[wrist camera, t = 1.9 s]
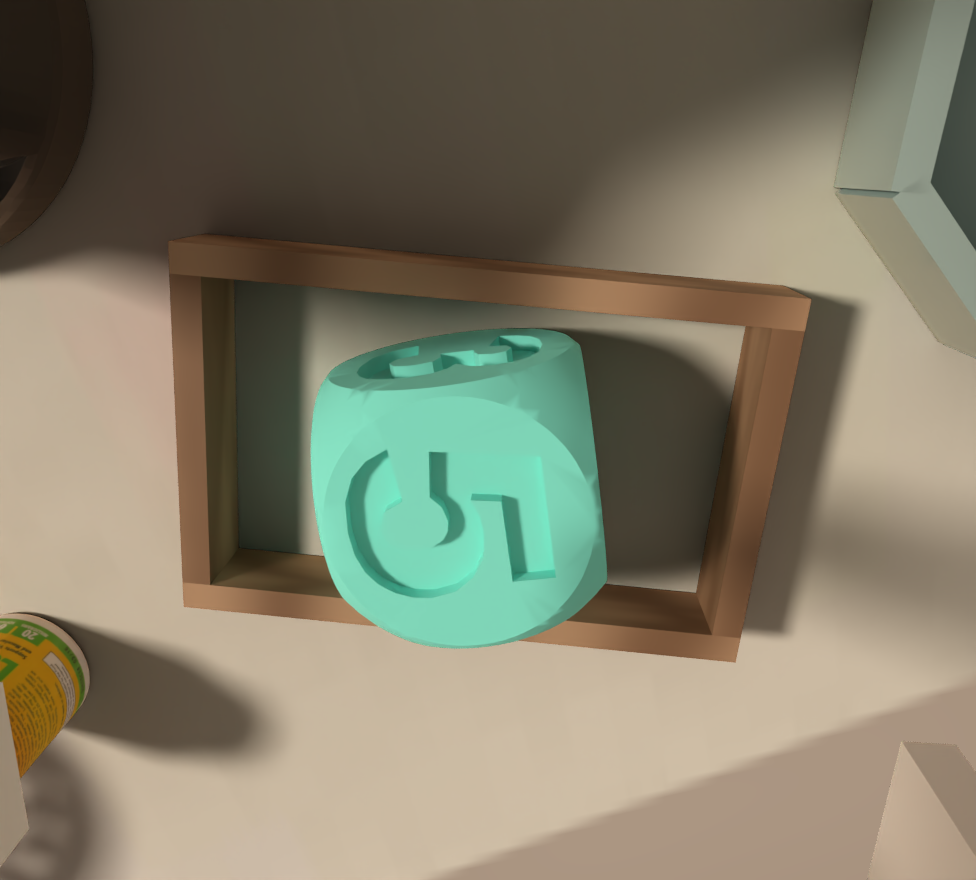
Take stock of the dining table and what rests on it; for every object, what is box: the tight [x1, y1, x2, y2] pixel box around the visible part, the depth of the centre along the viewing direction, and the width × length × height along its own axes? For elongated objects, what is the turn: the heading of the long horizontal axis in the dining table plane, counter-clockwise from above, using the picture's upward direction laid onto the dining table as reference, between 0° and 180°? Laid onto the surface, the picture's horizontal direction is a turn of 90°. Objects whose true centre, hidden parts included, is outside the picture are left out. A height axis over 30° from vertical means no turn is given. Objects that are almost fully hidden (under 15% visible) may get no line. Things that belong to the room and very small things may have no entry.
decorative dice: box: [311, 328, 607, 648], centre depth 26 cm, size 8×8×8 cm
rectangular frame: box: [168, 234, 812, 662], centre depth 29 cm, size 20×13×3 cm, turn 85°
